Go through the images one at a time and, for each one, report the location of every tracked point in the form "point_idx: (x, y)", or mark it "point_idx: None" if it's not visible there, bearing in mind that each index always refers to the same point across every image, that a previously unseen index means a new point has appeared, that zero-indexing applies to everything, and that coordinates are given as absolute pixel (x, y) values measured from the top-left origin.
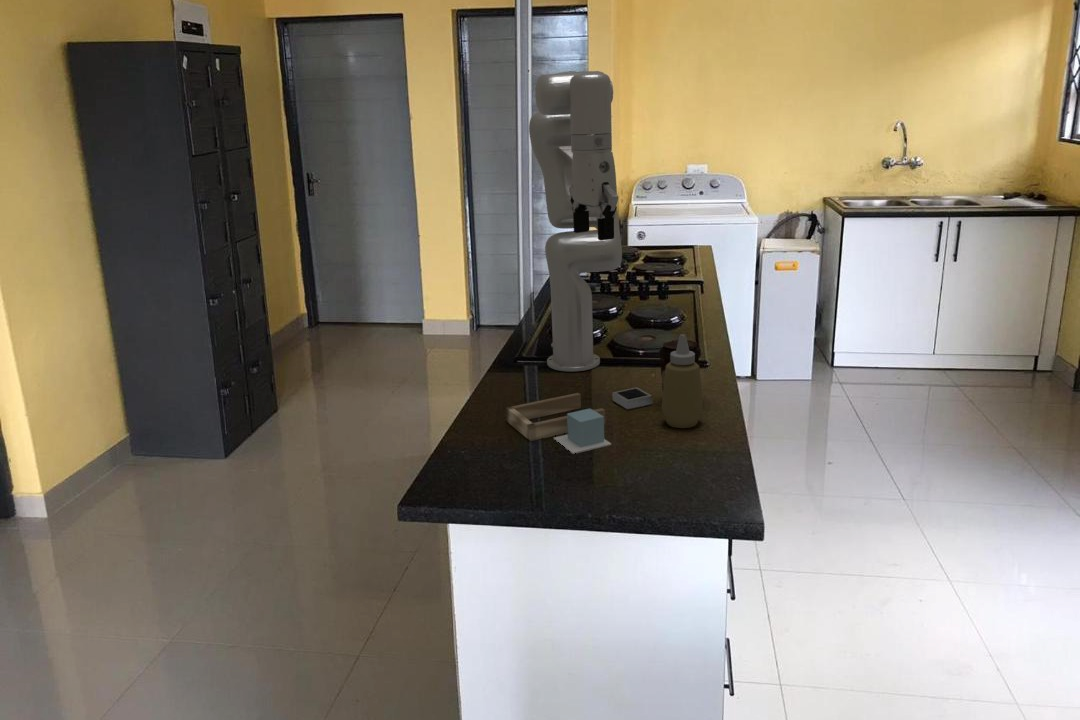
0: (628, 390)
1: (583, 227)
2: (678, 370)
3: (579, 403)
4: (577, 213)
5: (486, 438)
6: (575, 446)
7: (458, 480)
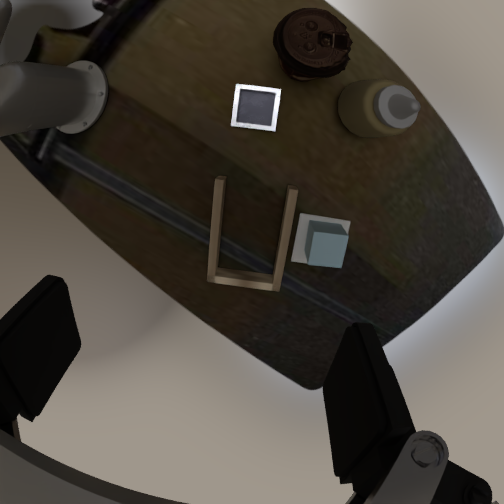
0: (238, 101)
1: (61, 324)
2: (402, 131)
3: (225, 179)
4: (33, 410)
5: (240, 309)
6: None
7: (306, 361)
